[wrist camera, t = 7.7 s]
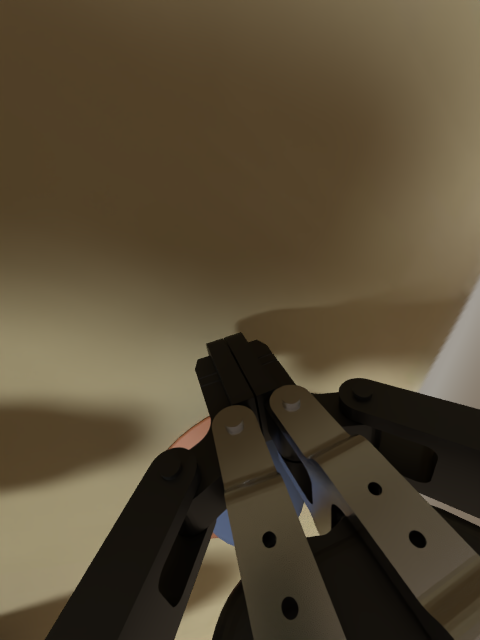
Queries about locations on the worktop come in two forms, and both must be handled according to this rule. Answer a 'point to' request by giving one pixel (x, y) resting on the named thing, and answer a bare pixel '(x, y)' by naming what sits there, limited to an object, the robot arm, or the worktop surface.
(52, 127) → the worktop surface
